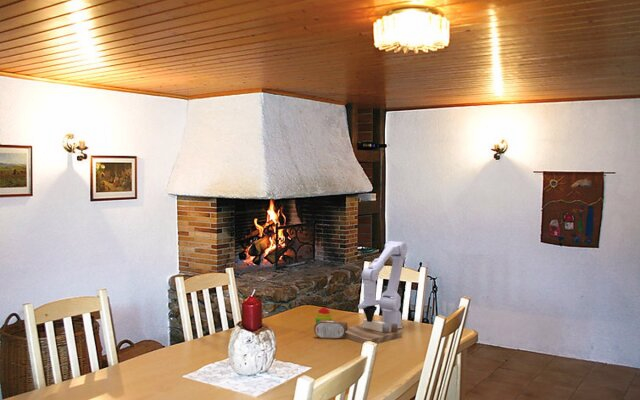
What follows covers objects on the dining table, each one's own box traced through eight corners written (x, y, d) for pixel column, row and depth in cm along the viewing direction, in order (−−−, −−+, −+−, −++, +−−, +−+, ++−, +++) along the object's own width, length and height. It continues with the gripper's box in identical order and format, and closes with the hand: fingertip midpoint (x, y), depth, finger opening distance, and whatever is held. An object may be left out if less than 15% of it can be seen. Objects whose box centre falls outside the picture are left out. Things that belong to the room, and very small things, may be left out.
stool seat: (369, 327, 299) (369, 315, 299) (401, 337, 282) (401, 324, 282) (336, 334, 285) (337, 322, 285) (368, 345, 268) (368, 332, 268)
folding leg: (390, 332, 281) (390, 323, 280) (386, 333, 278) (386, 324, 278) (366, 326, 291) (366, 318, 291) (362, 327, 289) (362, 319, 288)
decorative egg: (312, 327, 298) (312, 308, 298) (321, 324, 305) (321, 305, 305) (326, 330, 294) (326, 310, 293) (334, 326, 301) (334, 307, 300)
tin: (345, 337, 281) (346, 320, 280) (345, 339, 278) (345, 322, 277) (314, 336, 282) (314, 319, 282) (313, 338, 279) (313, 321, 279)
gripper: (373, 290, 292) (373, 317, 292) (353, 294, 282) (353, 322, 282) (384, 292, 287) (384, 319, 287) (364, 296, 276) (364, 325, 277)
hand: (369, 321), depth 284 cm, fingers closed
